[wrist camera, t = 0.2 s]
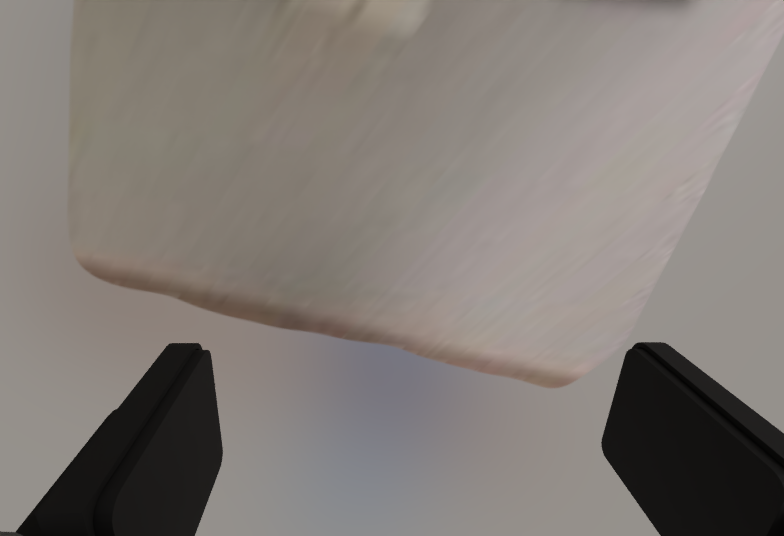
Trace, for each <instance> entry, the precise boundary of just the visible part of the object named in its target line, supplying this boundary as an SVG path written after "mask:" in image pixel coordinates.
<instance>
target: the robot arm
mask: <svg viewBox="0 0 784 536" xmlns="http://www.w3.org/2000/svg"><path fill="white" fill-rule="evenodd" d="M601 443H602V450H603V453H604V456H605V457H606V459H607V460H608V462H609V463H610V465H611V466H612V467H613V469H614V470H615V472H616V473H617V474H618V476H619V477H620V479H621V480H622V481H623V483H624V484H625V486H626V487H627V489H628V490H629V491H630V492H631V494H632V496H633V497H634V499H635V500H636V501H637V503H638V504H639V506H640V507H641V508H642V510H643V511H644V513H645V514H646V515H647V517H648V518H649V520H650V521H651V523H652V524H653V525H654V527H655V528H656V530H657V531H658V532H659V534H660V535H661V536H784V433H782V432H781V431H779V430H778V429H777V428H776V427H775V426H773V425H772V424H771V423H769V422H768V421H767V420H765V419H764V418H763V417H761V416H760V415H759V414H758V413H756V412H755V411H754V410H752V409H751V408H750V407H748V406H747V405H746V404H745V403H743V402H742V401H741V400H739V399H738V398H737V397H736V396H734V395H733V394H732V393H730V392H729V391H728V390H726V389H725V388H724V387H722V386H721V385H720V384H719V383H717V382H716V381H715V380H713V379H712V378H711V377H709V376H708V375H707V374H706V373H704V372H703V371H702V370H700V369H699V368H698V367H696V366H695V365H694V364H692V363H691V362H690V361H689V360H687V359H686V358H685V357H684V356H682V355H681V354H680V353H678V352H677V351H676V350H674V349H673V348H672V347H671V346H669V345H668V344H666V343H661V342H659V343H657V342H656V343H655V342H651V343H649V342H645V343H644V342H641V343H636V344H635V345H634V346H633V347H632V349H630V350H628V351H627V353H626V355H625V359H624V362H623V366H622V369H621V373H620V376H619V380H618V384H617V387H616V391H615V394H614V398H613V402H612V405H611V409H610V412H609V416H608V419H607V423H606V427H605V430H604V434H603V437H602V442H601ZM222 454H223V450H222V440H221V432H220V424H219V416H218V408H217V400H216V392H215V383H214V375H213V368H212V360H211V354H210V351H209V350H202V347H201V345H200V344H199V343H172V344H169V345H168V346H167V347H166V348H165V349H164V351H163V352H162V353H161V354H160V356H159V357H158V358H157V359H156V361H155V362H154V363H153V364H152V366H151V367H150V368H149V370H148V371H147V372H146V373H145V375H144V376H143V377H142V379H141V380H140V381H139V382H138V384H137V385H136V386H135V387H134V389H133V390H132V391H131V392H130V394H129V395H128V396H127V398H126V399H125V400H124V401H123V403H122V404H121V405H120V406H119V408H118V409H116V410H114V411H113V412H112V413H111V414H110V415H109V416H108V417H107V418H106V419H105V420H104V422H103V423H102V424H101V426H100V427H99V428H98V429H97V431H96V432H95V433H94V434H93V436H92V437H91V438H90V439H89V441H88V442H87V443H86V444H85V446H84V447H83V448H82V449H81V451H80V452H79V453H78V454H77V456H76V457H75V458H74V460H73V461H72V462H71V463H70V464H69V466H68V467H67V468H66V470H65V471H64V472H63V473H62V474H61V476H60V477H59V478H58V479H57V481H56V482H55V483H54V485H53V486H52V487H51V488H50V489H49V491H48V492H47V493H46V494H45V496H44V497H43V498H42V500H41V501H40V502H39V503H38V504H37V506H36V507H35V508H34V510H33V511H32V512H31V513H30V515H29V516H28V517H27V518H26V520H25V521H24V522H23V523H22V525H21V526H20V527H19V528H18V530H17V531H16V532H0V536H195V533H196V531H197V528H198V525H199V523H200V520H201V517H202V515H203V512H204V509H205V506H206V504H207V501H208V498H209V496H210V493H211V491H212V488H213V485H214V483H215V480H216V477H217V475H218V472H219V469H220V466H221V462H222Z"/></svg>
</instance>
